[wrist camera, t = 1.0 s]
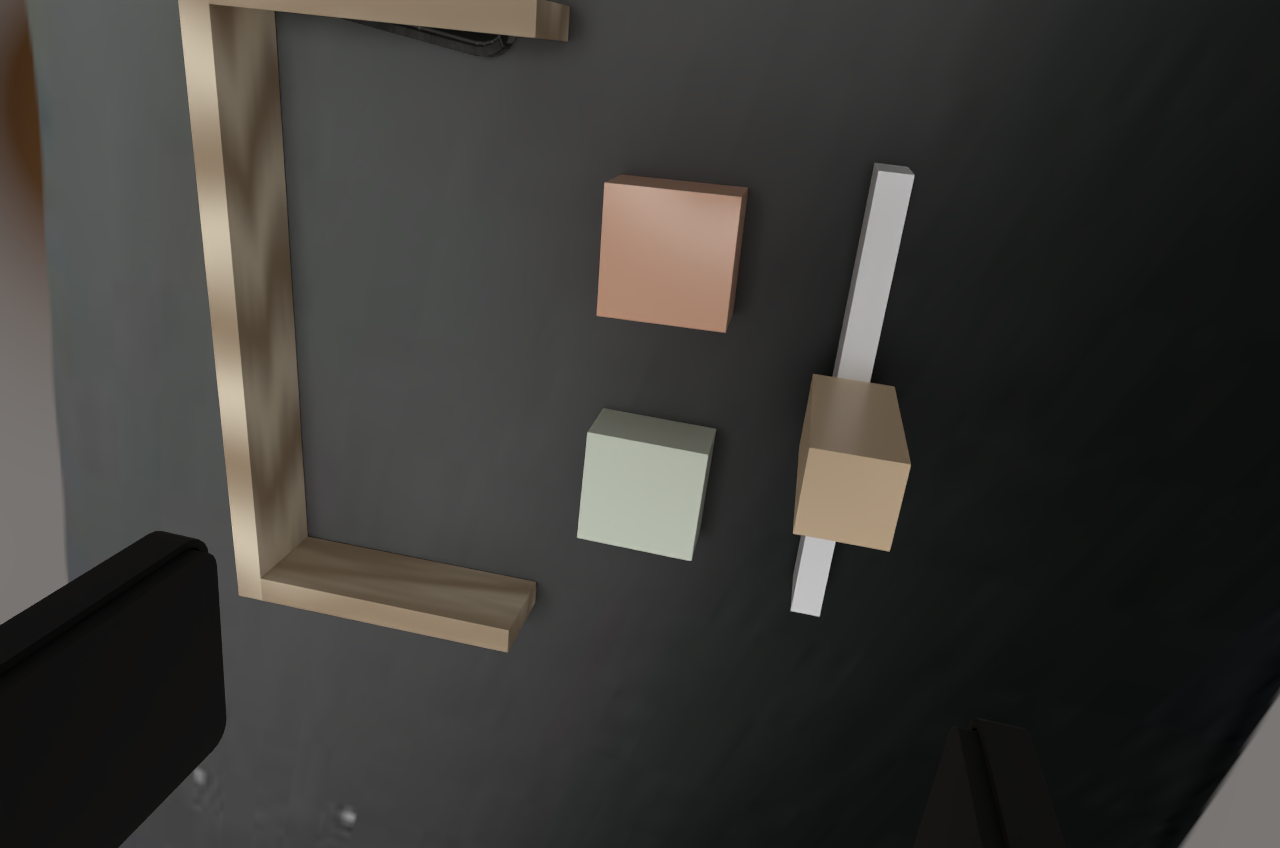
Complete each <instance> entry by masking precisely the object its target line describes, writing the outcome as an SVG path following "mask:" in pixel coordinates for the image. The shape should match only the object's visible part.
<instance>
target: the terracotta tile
mask: <svg viewBox="0 0 1280 848" xmlns="http://www.w3.org/2000/svg"><path fill="white" fill-rule="evenodd" d="M747 196H748V188H747V187H738V186H728V185H718V184H709V183H699V182H690V181H680V180H670V179H661V178H651V177H642V176H632V175H622V174H621V175H619V176H617V177H615V178H613V179H611V180H609V181H607V182H605V183H604V200H603V217H602V234H601V251H600V268H599V285H598V303H597V316H602V317H609V318H617V319H625V320H632V321H640V322H648V323H655V324H663V325H670V326H678V327H686V328H693V329H701V330H709V331H716V332H724V333H726V331H727V328H728V326H729V323H730V321H731V318H732V316H733V311H734V303H735V295H736V286H737V278H738V270H739V262H740V253H741V245H742V237H743V229H744V220H745V212H746V204H747Z"/></svg>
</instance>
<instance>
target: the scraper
mask: <svg viewBox="0 0 1280 848" xmlns="http://www.w3.org/2000/svg"><path fill="white" fill-rule="evenodd" d="M914 176H915V175H914V174H913V173H912V171H911V170H910V169H909V168H908V167H906V166H898V165H889V164H881V163H874V168H873V173H872V178H871V183H870V188H869V193H868V198H867V203H866V208H865V213H864V218H863V223H862V229H861V234H860V239H859V244H858V249H857V254H856V259H855V264H854V269H853V274H852V279H851V284H850V289H849V295H848V300H847V305H846V310H845V315H844V320H843V325H842V330H841V335H840V340H839V345H838V350H837V355H836V360H835V366H834V371H833V376H832V377H830V376H824V375H818V374H813V377H812V382H811V387H810V393H809V398H808V403H807V409H806V414H805V419H804V425H803V430H802V435H801V441H800V446H799V459H798V472H797V485H796V499H795V512H794V525H793V534H798V535H801V538H800V543H799V548H798V553H797V558H796V563H795V568H794V574H793V584H792V599H791V611H794V612H799V613H804V614H809V615H814V616H820V611H821V607H822V602H823V597H824V593H825V588H826V583H827V579H828V574H829V570H830V565H831V560H832V556H833V551H834V546H835V542H841V543H847V544H852V545H858V546H863V547H869V548H874V549H880V550H885V551H890V548H891V544H892V540H893V536H894V532H895V528H896V524H897V520H898V516H899V511H900V507H901V503H902V499H903V495H904V491H905V487H906V483H907V479H908V475H909V471H910V467H911V462H910V458H909V453H908V448H907V443H906V439H905V434H904V429H903V424H902V420H901V415H900V410H899V405H898V401H897V396H896V391H895V387H894V386H888V385H881V384H875V383H870V380H871V375H872V370H873V366H874V361H875V357H876V352H877V347H878V343H879V338H880V333H881V329H882V324H883V319H884V315H885V310H886V306H887V301H888V296H889V292H890V287H891V282H892V278H893V273H894V269H895V264H896V259H897V255H898V250H899V245H900V241H901V236H902V232H903V227H904V222H905V218H906V213H907V208H908V204H909V199H910V194H911V190H912V185H913V181H914Z"/></svg>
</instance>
